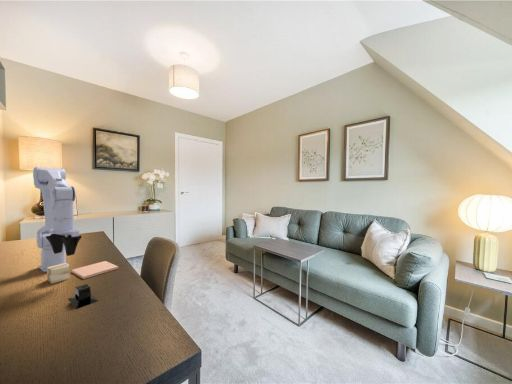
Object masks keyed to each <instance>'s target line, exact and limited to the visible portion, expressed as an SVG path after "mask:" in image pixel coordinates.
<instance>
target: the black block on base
mask: <svg viewBox="0 0 512 384" xmlns="http://www.w3.org/2000/svg"><path fill="white" fill-rule="evenodd" d="M91 292H92V291H91V286H89V284H88V283H84V284H82V285H78V286H75V287H74V296H71V297H69V298H67V299H68V302H69V303H70V304H71V306H73V308H74V309H75V310H78V309H81V308H83V307H86V306H89V305H91V304H95V303H97V302H100V300H99V299H98V298H97V297H96V296H94V295H93V294H92V293H91Z"/></svg>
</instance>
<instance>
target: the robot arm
mask: <svg viewBox="0 0 512 384" xmlns="http://www.w3.org/2000/svg"><path fill="white" fill-rule="evenodd" d="M32 169H33V171H32V178H33V185H34V187H35V188H36V189H38V190H40V191H41V194H42V200H43V201H42V202H43V203H42V204H43V213H44V223H45V224H44V226H41V228H39V229H38V230H37V231H36V246H37V248H39V249H41V251H40V263H41V264H40V265H38V266H37V268H38V269H40V270H41V271H42V272H44V273H47V267H51V266H55V265H59V264H64V263H65V264H67V265H69V266H70V264H69V263H67V262H66V261H67V260H66V256H67V257H69V256H73V255H75V254H76V250H77V247H78V244H79V242H80V240H81V239H82V237H83V236H82V235H80V230H77V229H75V227H74V226H75V224H74V221H75V220H74V202H75V200H76V190H75V186H72V185H71V186H70V185H69V184H68V182H67V180H66V179H67V172H66V170H65V169H64V168H63V167H62V168H55V167H38V166H35V167H33V168H32Z"/></svg>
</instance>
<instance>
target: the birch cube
mask: <svg viewBox="0 0 512 384" xmlns="http://www.w3.org/2000/svg"><path fill="white" fill-rule="evenodd" d="M67 264H68V263H67ZM67 264H65V263H64V264H59V265H55V266H51V267H47V271H46V275H47V277H46V278H47V279H46V281H48V282H49V283H50V284H52V285H53V284H55V283H56V284H57V283H59V282H62V281H66V280H69V279H70V275H71V274H70V264H69V265H67Z"/></svg>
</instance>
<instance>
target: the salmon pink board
mask: <svg viewBox="0 0 512 384" xmlns="http://www.w3.org/2000/svg"><path fill="white" fill-rule="evenodd" d="M118 269H119V266H118V265H116V264H113V263H112V262H109V261H106V260H104V261H100V262H96V263H92V264H88V265H84V266H80V267H77V268H73V269H71V273H72V274H73V275H76V277H79V278H80V279H82V280H85V279H89V278H92V277H96V276H99V275H102V274H105V273H109V272H112V271H115V270H118Z"/></svg>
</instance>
